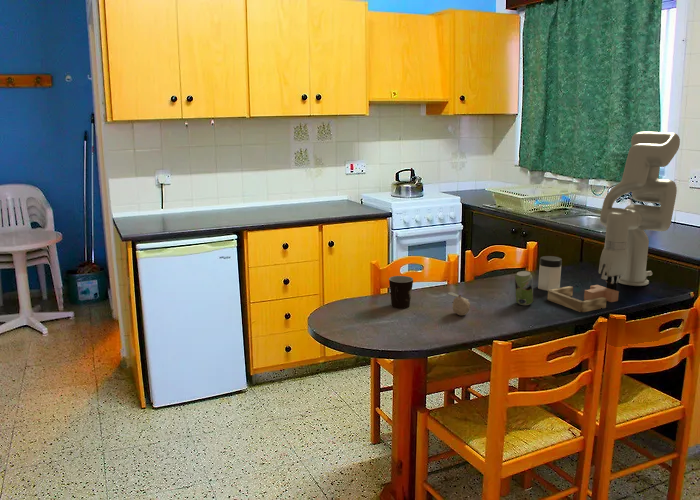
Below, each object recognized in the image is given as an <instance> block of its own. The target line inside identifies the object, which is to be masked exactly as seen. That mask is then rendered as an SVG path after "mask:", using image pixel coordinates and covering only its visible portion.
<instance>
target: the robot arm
mask: <svg viewBox="0 0 700 500" xmlns="http://www.w3.org/2000/svg"><path fill="white" fill-rule="evenodd" d="M630 143H631V146H630V147H629V150H628V153H627V158H626V161H625V165H624V170H623V174H622V177H621V180H620V182H618V184H616V185H615V186H614V187H612V188H611V189H610V190H609V191H608V193H607V194H606V196H605V197H604V199H603V201H602V206H601V211H600V215H599V217H600V219H599V221H600V223H601V225H602V226H603V227H605V238H604V239H605V240H604V247H603V249H602V252H601V255H600V258H599V265H598V274H599V275H601V277H600V279H602V280H605V282H606V288H609V289H612V290H616V291H617V286H618V284H621V285H625V286H630V287H631V286H634V287H642V286H643V287H644V286H647V285H649V284H650V280H648V278H647V277H650V276H653V272H652V270H647V263H648V262H647V261H648V255H649V254H648V253H649V242H650V240H649V237H648V235H647V233H646V232H645V231H646V230H647V231H655V232H666V231H668V230H669V229H670V227H671V223H672V220H673V214H674V211H675V210H674V209H675V204H676V198H677V192H678V190H677V184H676V183H675V180H672V179H665V178H659V176H660V169H661V168H665V167H666V166H668V165H669V164H670V162H671V161H672V160H673V158H674V156H675V155H676V154H677V152H678V151H679V149H680V145H681V139H680V135H679V134H678V133H676V132H663V131H659V132H658V131H639V132H635V133H634V134H633V135H632V136H631V140H630ZM628 193H631V198H632V199H633V200H634V201H637V202H641V203H642V202H643V203H651V204H660V206H656V205H648V204H641V203H640V204H637V203H636V204H629V205H627V206H626V207H624V208H620V207H613V205H614V204H615V202H616V200H617V199H619V198H620V197H622V196H623V195H626V194H628Z"/></svg>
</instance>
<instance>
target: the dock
mask: <svg viewBox="0 0 700 500" xmlns="http://www.w3.org/2000/svg"><path fill="white" fill-rule="evenodd" d="M573 293H574V286H571V285H569V286H563V287H560V288H556V289H550V290H548V291H547V298H546V299H547V300H546V301H550V302H551V303H555V304H557V305H560V306H563V307H566V308H568V309H570V310H571V309H572V310H573V311H576V312H579V313H586V312H591V311H595V310H602V309H606V308H607V301H606V300H607V298H604V297H601V298H596V299H590V300H581V299H578V298H575V297H573ZM601 308H602V309H601Z"/></svg>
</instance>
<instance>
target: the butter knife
mask: <svg viewBox="0 0 700 500" xmlns="http://www.w3.org/2000/svg"><path fill="white" fill-rule="evenodd" d="M447 295H450V296H453V297H455V298H456V297H458V296H459V295H460V294H457V293H454V292H452V291H449V292H447ZM461 297H462V298H465V297H463V296H461ZM465 299H466V300H468V301H469V299H468V298H465Z"/></svg>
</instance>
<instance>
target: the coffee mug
mask: <svg viewBox="0 0 700 500" xmlns="http://www.w3.org/2000/svg"><path fill="white" fill-rule="evenodd" d="M388 283H389V293H390V304H391V307H392V308H393V309H397V310H398V309H399V310H402V309H403V310H404V309H408V308H409V307H410V304H411V299H412V298H411V297H412V292H413V284H414V278H413V277H411V276H407V275H394V276H390V277H389V278H388Z"/></svg>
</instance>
